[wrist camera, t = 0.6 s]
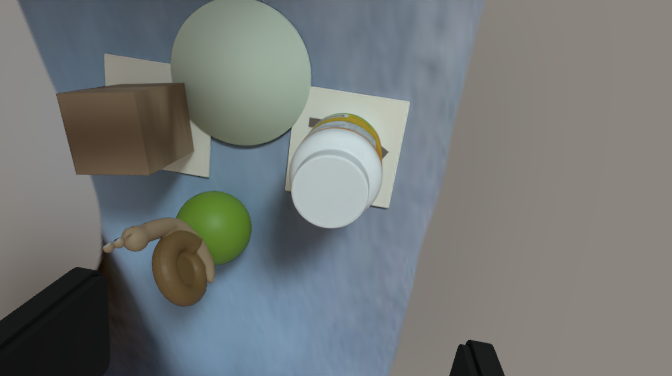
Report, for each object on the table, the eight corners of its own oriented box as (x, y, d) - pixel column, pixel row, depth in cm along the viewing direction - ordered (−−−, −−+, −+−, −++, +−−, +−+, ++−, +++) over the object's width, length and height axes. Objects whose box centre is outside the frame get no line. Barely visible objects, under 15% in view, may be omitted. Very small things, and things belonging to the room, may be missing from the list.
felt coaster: (173, -13, 28) (171, -14, 27) (320, 9, 27) (319, 9, 27) (172, 132, 31) (169, 133, 31) (302, 154, 31) (301, 155, 30)
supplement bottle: (356, 196, 31) (347, 259, 22) (294, 159, 31) (258, 208, 21) (396, 137, 29) (404, 178, 20) (331, 96, 29) (309, 120, 20)
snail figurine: (232, 159, 31) (151, 223, 20) (271, 230, 33) (216, 326, 22) (174, 186, 33) (66, 261, 21) (215, 253, 34) (134, 356, 23)
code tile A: (297, 83, 29) (296, 84, 29) (409, 101, 29) (410, 102, 28) (285, 189, 32) (284, 190, 31) (388, 207, 31) (388, 208, 31)
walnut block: (119, 84, 30) (56, 93, 24) (184, 82, 29) (134, 92, 24) (132, 150, 32) (76, 174, 26) (194, 151, 31) (149, 175, 25)
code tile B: (105, 53, 30) (103, 53, 29) (214, 70, 29) (212, 70, 29) (110, 159, 32) (108, 160, 32) (209, 176, 32) (208, 177, 32)
